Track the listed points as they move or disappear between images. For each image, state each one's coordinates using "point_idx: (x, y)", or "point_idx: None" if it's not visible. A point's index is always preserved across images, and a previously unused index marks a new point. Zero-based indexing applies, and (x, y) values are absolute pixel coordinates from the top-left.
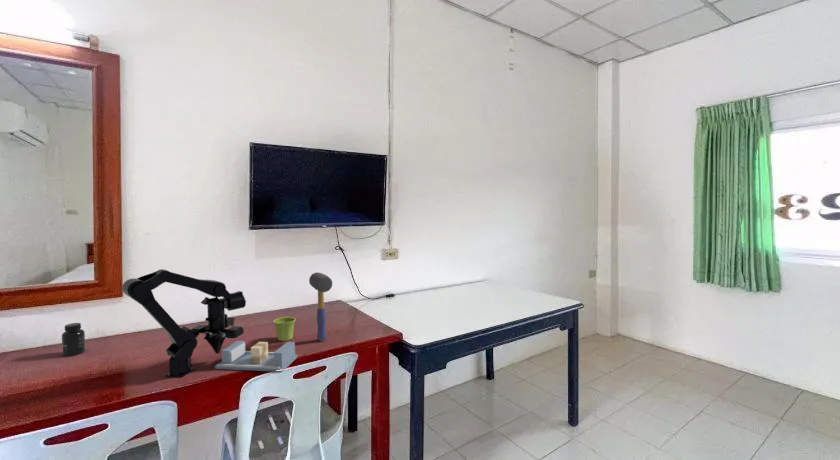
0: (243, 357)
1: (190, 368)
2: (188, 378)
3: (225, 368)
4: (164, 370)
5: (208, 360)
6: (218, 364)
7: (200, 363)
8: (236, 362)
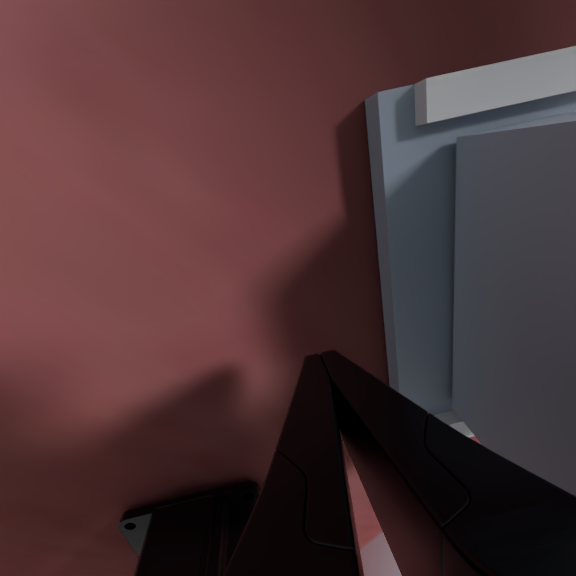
0: None
1: (232, 503)
2: None
3: None
4: (53, 551)
5: (196, 337)
6: None
7: (188, 402)
8: None
